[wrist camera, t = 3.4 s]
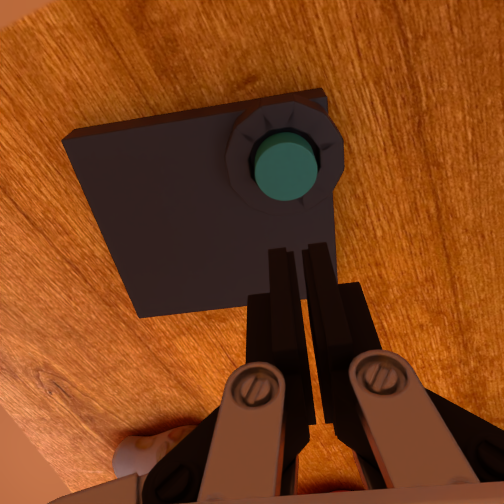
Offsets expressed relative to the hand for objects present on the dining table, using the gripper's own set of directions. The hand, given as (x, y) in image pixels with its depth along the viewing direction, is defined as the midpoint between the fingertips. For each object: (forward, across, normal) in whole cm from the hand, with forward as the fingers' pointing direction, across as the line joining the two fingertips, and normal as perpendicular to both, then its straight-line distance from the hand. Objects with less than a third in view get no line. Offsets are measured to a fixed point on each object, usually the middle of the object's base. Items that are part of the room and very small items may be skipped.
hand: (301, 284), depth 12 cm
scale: (+13, +4, +4) cm, 14 cm away
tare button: (+10, 0, 0) cm, 10 cm away
